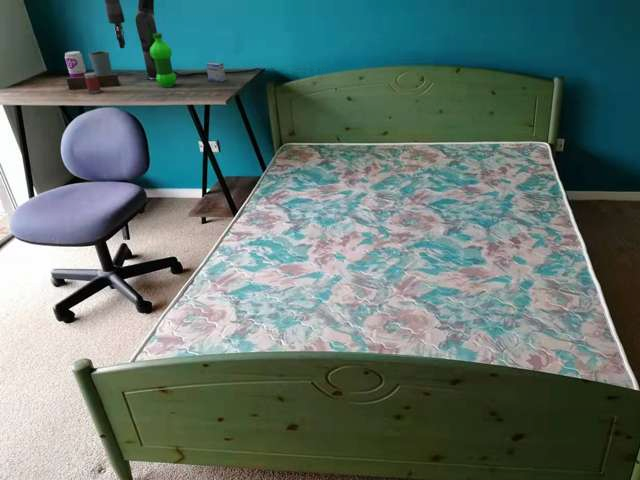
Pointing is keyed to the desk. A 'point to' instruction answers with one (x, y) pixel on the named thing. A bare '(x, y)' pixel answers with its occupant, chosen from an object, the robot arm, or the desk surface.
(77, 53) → the supplement can
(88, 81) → the tin can
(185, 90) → the desk surface
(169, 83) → the plastic bottle
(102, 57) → the grey cup
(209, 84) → the desk surface
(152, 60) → the robot arm
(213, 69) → the medicine box
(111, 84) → the wooden wall
